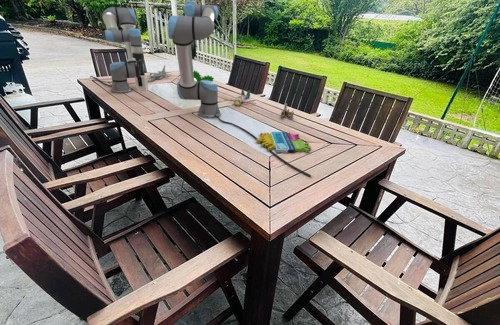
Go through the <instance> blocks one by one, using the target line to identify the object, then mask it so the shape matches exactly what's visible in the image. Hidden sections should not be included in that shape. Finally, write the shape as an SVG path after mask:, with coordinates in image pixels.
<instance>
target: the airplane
mask: <svg viewBox="0 0 500 325" xmlns="http://www.w3.org/2000/svg"><path fill="white" fill-rule="evenodd" d="M157 72H158V73H157ZM157 72H145V73H146V74H149V75H148V77H150V78H148V79H147V83H150V82H152V81H155V80H158V79H159V80H161V79H163V78H169V76H170V75H169V74H171V73H172V72H170V71H166V65H164V66H163V68H162V70H157Z"/></svg>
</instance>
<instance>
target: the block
mask: <svg viewBox="0 0 500 325" xmlns="http://www.w3.org/2000/svg"><path fill="white" fill-rule="evenodd" d="M141 78H142V85H143V86H139V85H138V79H137V77H135V78H134V79H135V87H136V91H137V92H147V91H148V90H149V84H148V82H147V81H148V77H147V75H144V76H143V75H141Z"/></svg>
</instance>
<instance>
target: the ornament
mask: <svg viewBox="0 0 500 325" xmlns="http://www.w3.org/2000/svg"><path fill="white" fill-rule="evenodd" d="M193 73H194V78H195V79H196V81H197V82H198V83H200V81H201V80H209V81H213V82H214V79H215V77H213V76H212V75H209V74H208V75H204V76H202V75H201V74H200V72H198V71H197V70H195V69H193Z"/></svg>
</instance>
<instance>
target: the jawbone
mask: <svg viewBox="0 0 500 325" xmlns="http://www.w3.org/2000/svg"><path fill="white" fill-rule="evenodd" d="M294 111H295V110H294V109H293V110H292V111H291V112H290V108H288V103H284V107H283V109H281V113H280V119H283V118H284V117H285V116H286V117H287V118H289V120H293V119H294V115H295V114H294Z"/></svg>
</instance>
